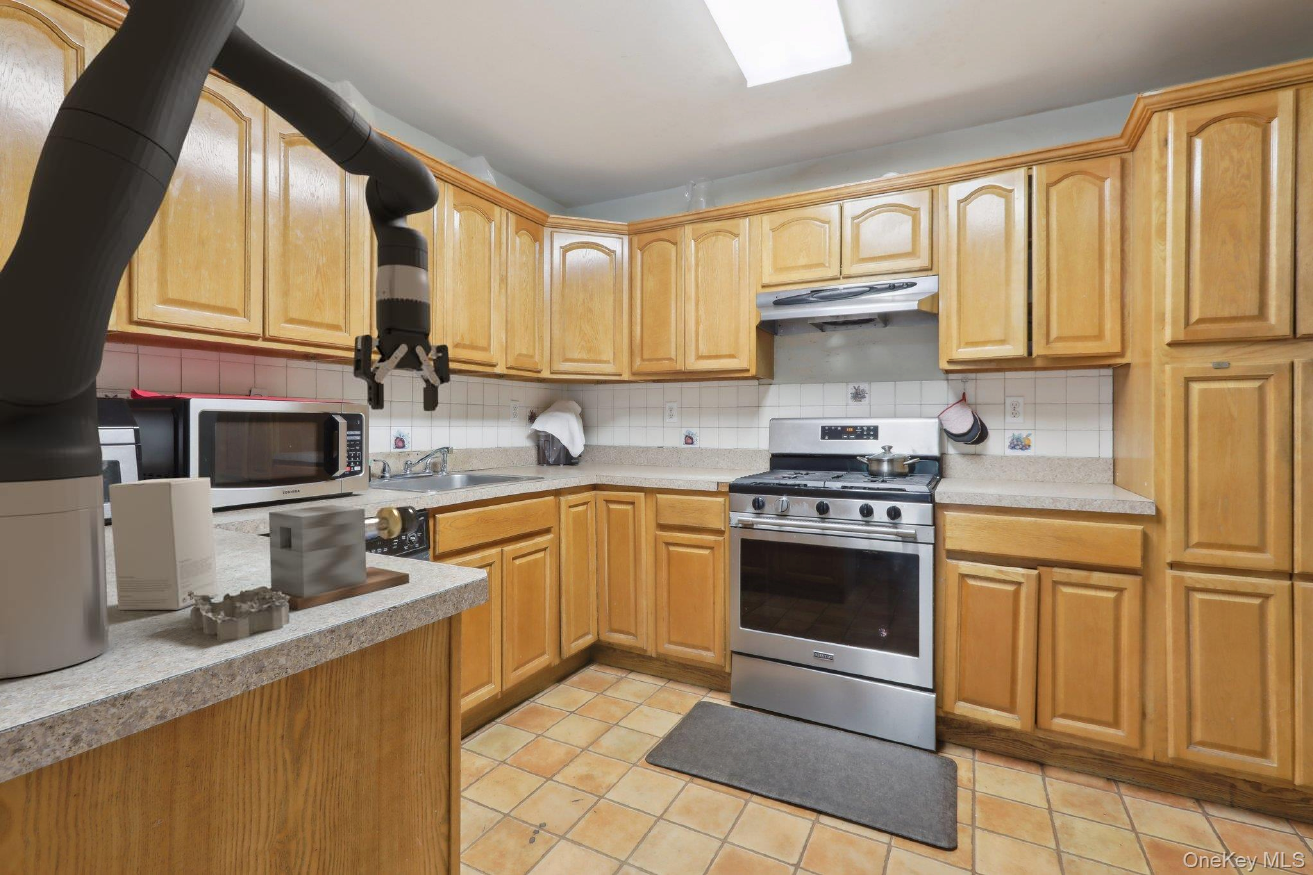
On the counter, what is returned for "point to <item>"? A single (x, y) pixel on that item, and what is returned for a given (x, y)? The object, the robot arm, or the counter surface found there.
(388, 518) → the shaft
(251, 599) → the egg carton
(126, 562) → the skincare box
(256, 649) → the counter surface
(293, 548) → the bearing block
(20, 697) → the counter surface
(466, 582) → the counter surface
